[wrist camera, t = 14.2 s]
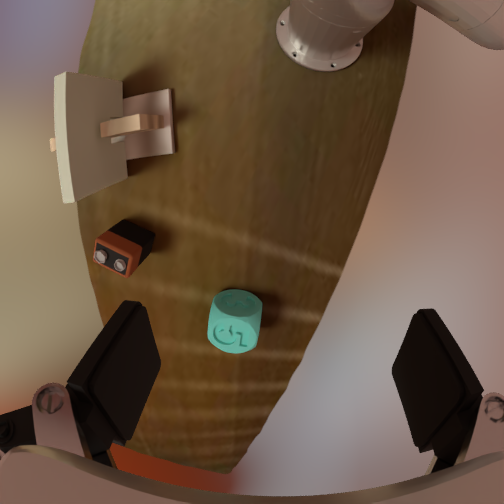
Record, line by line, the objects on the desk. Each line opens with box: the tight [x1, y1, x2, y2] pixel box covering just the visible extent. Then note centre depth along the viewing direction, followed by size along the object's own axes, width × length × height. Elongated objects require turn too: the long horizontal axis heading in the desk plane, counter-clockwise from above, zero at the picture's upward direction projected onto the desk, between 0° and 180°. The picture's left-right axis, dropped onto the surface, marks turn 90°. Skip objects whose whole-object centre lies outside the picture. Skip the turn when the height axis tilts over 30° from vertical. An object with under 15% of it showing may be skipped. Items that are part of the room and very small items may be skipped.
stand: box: [50, 89, 175, 160], centre depth 34 cm, size 18×10×9 cm, turn 92°
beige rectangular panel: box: [54, 72, 128, 203], centre depth 31 cm, size 2×16×14 cm, turn 1°
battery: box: [93, 220, 155, 278], centre depth 41 cm, size 4×7×10 cm, turn 66°
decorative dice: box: [208, 289, 262, 353], centre depth 46 cm, size 8×8×8 cm
